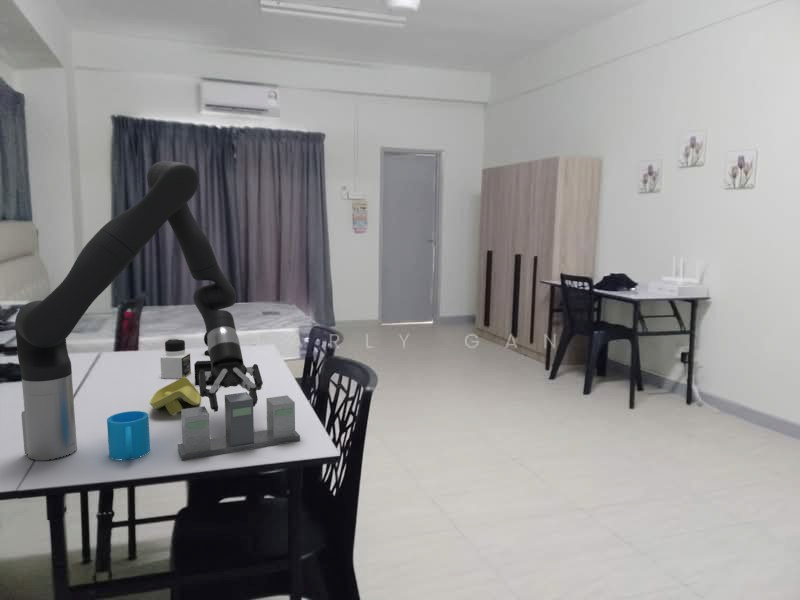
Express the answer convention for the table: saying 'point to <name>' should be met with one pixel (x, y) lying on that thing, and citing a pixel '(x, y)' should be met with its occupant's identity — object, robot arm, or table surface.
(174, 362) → the medicine bottle
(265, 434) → the rail
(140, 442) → the mug
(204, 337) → the webcam
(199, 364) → the digital camera
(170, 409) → the plastic component
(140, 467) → the table surface
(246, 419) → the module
